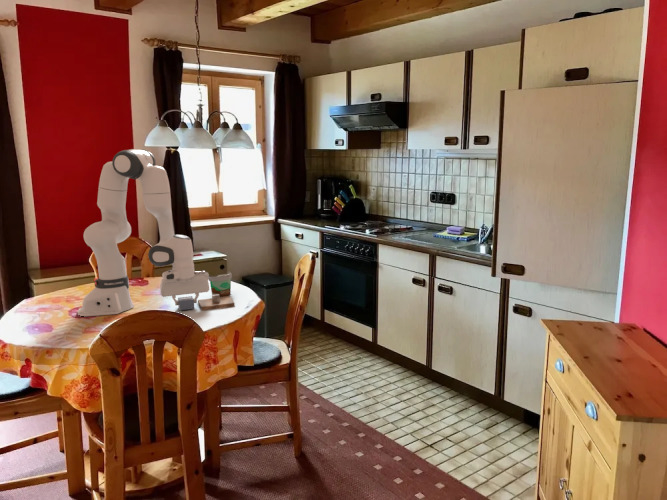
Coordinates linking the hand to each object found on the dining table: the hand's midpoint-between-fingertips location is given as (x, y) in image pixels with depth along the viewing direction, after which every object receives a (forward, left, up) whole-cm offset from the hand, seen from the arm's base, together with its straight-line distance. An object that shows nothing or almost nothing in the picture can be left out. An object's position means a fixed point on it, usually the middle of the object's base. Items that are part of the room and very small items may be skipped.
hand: (186, 303), depth 231 cm
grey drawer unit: (0, 0, -2) cm, 2 cm away
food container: (+19, +14, -2) cm, 24 cm away
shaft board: (+13, 0, -2) cm, 13 cm away
